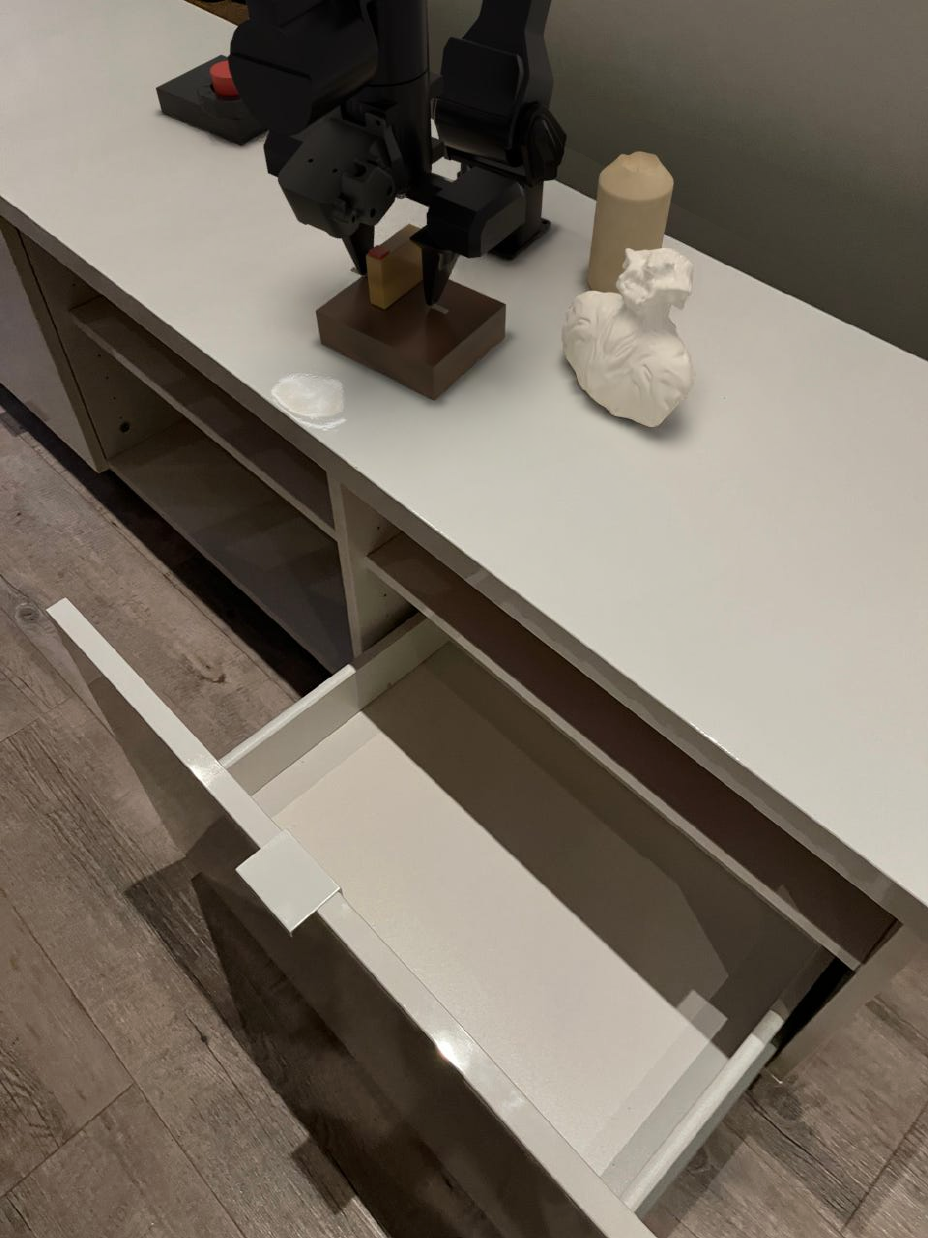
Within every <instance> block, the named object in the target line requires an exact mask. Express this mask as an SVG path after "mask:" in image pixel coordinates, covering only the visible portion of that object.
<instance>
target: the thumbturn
mask: <svg viewBox="0 0 928 1238" xmlns="http://www.w3.org/2000/svg"><path fill="white" fill-rule="evenodd" d="M421 228H422V227H421ZM421 228H420V227H418V226H416V225H413V224H411V223H408V224H407V225H405V226H404V227H402V228H401V229H400V230H398V231H397V232H395V233H393V235H391V236H390V237H388V238H387V239H385V240H384V241H383V242H382V243H380V244H377V245H374V248H372V249H371V250H370V251H369V253H368V254H367V255H366V261H367V271H368V281H369V291H370V302H371V303H372V304H374V305H376V306H378V307H380V308H382V309H386V308H387V307H389V306H390V305H391V304H392V303H394V302H395V301H396V300H398V299H399V298H400V297H401V296H403V295H404V294H405V293H406V292H408V291H409V290H410V289H412V288H413V287H414V286H415V285H417V284H418V283H419V282H421V281H422V280H423V270H422V253H421V248H420V247H418V246H417V245H416V244H414V243H413V242H411V241H410V240H409V237H410V236H412V235H413V234H414V233H416V232H417V231H419V230H420V229H421Z"/></svg>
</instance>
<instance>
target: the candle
mask: <svg viewBox="0 0 928 1238" xmlns="http://www.w3.org/2000/svg"><path fill="white" fill-rule="evenodd" d="M674 183H675V182H674V178H673V176H672V174H671V173H670V172H669V171H668V169H667V168H666V167H665V166H664V164H663V163H662V162H661V160H660V159H659V157H658V156H657V155H656V154H654V153H649V152H645V151H633V153H631V154H626V153H625V154H624V153H621V154H619V156H617V158H616V159H614V160H613V161H612V162H611V163H610V164H609V165H607V166H606V167H605V168H604V169H603V170H602V171H601V172H600V174H599V176H598V183H597V192H596V202H595V208H594V209H595V210H594V216H593V217H594V218H593V226H592V233H591V240H590V241H591V242H590V250H589V258H588V269H587V283H588V285H589V287H590V289H591V291H598V292H602V293H608V292H612V293H617V294H620V293H619V290H618V289H617V287H616V282H617V280H618V278H619V276H620V275H621V274H622V273H624V272H625V270H626V269H623V267H622V266H623V263H624V262H625V260H626V254H625V250H626V249H627V248H630V249H632V250H634V251H641V250H654V249H660V248H663V243H664V239H665V234H666V233H665V232H666V227H667V223H668V222H667V221H668V218H669V217H668V216H669V212H670V206H671V200H672V195H673V189H674V185H675V184H674ZM620 295H621V294H620ZM621 296H622V295H621Z"/></svg>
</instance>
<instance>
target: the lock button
mask: <svg viewBox="0 0 928 1238" xmlns="http://www.w3.org/2000/svg"><path fill="white" fill-rule="evenodd" d="M210 74H211V79H212V83H213V88H214V92H215V93H217V94H220V95H228V96H233V95H238V92H237V90H236V88H235V86H234V84H233V81H232V77H231V74H230V70H229V65H228V61H223V62H219V63H217V64H215V65H213V66H212V67H211V69H210Z"/></svg>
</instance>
